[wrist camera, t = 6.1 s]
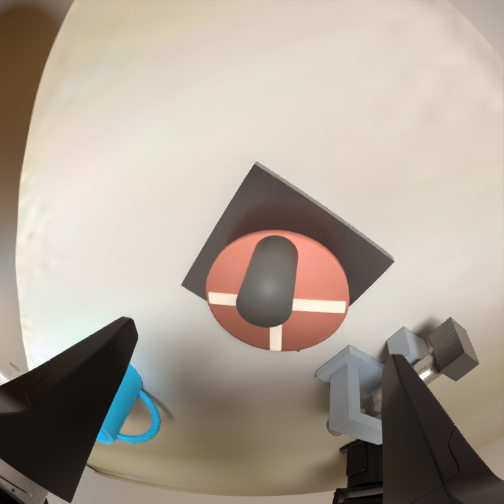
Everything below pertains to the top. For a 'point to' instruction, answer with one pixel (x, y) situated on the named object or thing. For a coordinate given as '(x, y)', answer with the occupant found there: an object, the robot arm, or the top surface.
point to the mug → (127, 411)
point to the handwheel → (278, 290)
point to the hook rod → (434, 363)
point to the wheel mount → (289, 219)
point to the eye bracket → (363, 384)
